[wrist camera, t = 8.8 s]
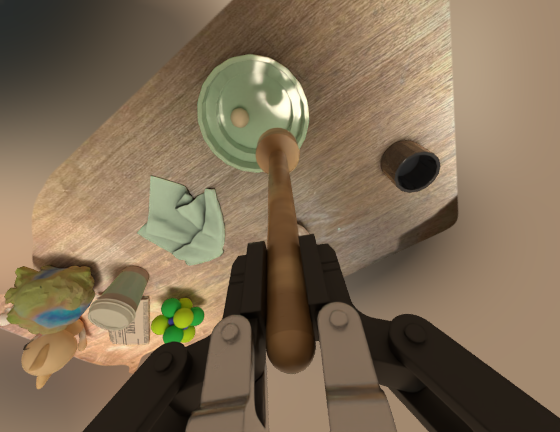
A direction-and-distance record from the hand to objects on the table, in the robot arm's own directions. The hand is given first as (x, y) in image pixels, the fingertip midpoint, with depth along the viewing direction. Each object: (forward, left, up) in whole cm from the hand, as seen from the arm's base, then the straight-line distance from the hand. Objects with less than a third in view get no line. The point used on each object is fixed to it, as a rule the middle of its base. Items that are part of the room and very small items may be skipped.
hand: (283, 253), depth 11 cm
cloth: (+21, +18, -33) cm, 43 cm away
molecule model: (+31, +42, -33) cm, 62 cm away
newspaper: (+50, +47, -33) cm, 76 cm away
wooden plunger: (0, 0, -15) cm, 15 cm away
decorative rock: (+53, +27, -33) cm, 68 cm away
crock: (-21, +12, -33) cm, 41 cm away
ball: (+5, 0, -30) cm, 31 cm away
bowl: (+3, 0, -33) cm, 33 cm away
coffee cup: (+39, +31, -33) cm, 59 cm away
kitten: (+64, +44, -33) cm, 85 cm away
